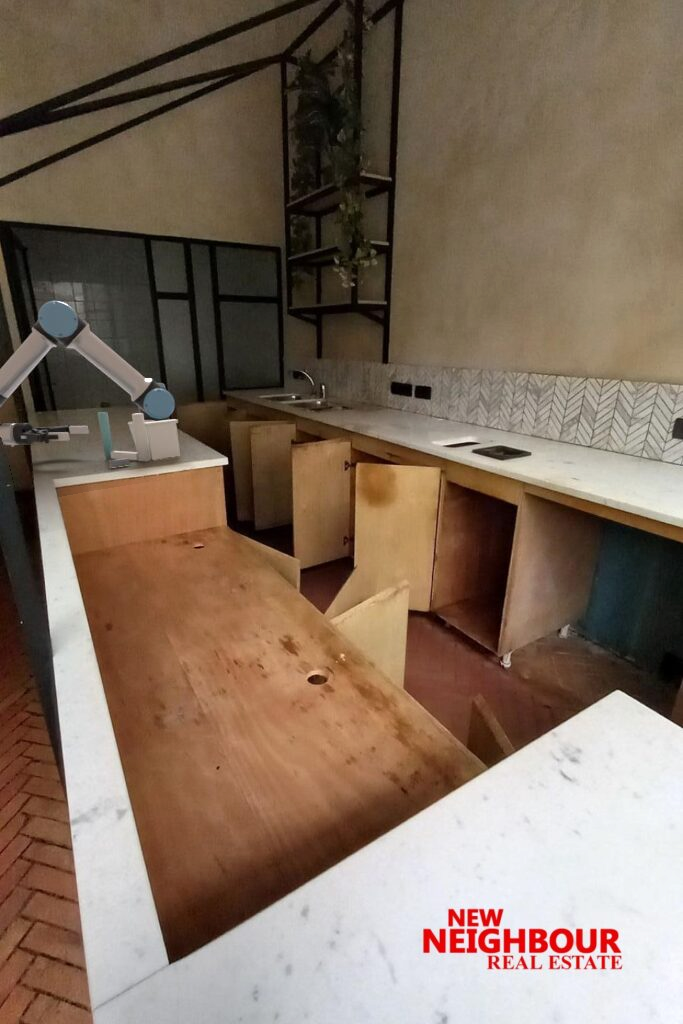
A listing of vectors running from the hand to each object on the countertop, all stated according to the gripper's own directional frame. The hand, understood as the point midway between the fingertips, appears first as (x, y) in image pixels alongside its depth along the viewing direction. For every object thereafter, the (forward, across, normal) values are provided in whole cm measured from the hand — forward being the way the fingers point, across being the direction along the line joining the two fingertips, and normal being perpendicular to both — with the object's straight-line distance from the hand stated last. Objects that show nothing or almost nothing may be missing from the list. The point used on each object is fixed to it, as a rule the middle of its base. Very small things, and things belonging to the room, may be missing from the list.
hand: (78, 432), depth 174 cm
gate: (+17, +3, -9) cm, 19 cm away
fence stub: (+29, 0, -10) cm, 31 cm away
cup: (+17, -13, -10) cm, 24 cm away
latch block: (+18, +13, -10) cm, 24 cm away
